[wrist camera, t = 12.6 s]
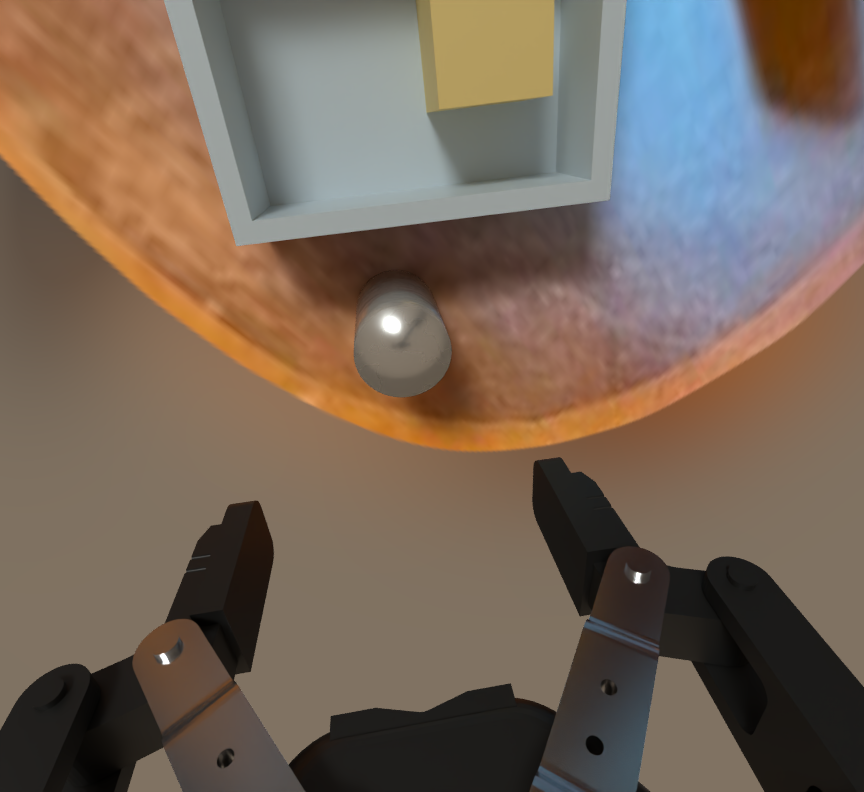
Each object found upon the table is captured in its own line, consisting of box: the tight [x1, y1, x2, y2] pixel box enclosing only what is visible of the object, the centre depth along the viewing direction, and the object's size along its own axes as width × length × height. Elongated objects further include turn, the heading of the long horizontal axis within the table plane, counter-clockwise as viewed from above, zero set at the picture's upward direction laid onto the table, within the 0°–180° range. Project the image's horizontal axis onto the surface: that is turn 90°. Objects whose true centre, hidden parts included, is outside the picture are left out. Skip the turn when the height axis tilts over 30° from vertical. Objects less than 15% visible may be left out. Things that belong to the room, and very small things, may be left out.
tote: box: [164, 0, 627, 246], centre depth 22 cm, size 18×14×6 cm
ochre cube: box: [416, 0, 554, 113], centre depth 21 cm, size 5×5×5 cm
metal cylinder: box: [354, 270, 452, 397], centre depth 27 cm, size 5×5×7 cm
